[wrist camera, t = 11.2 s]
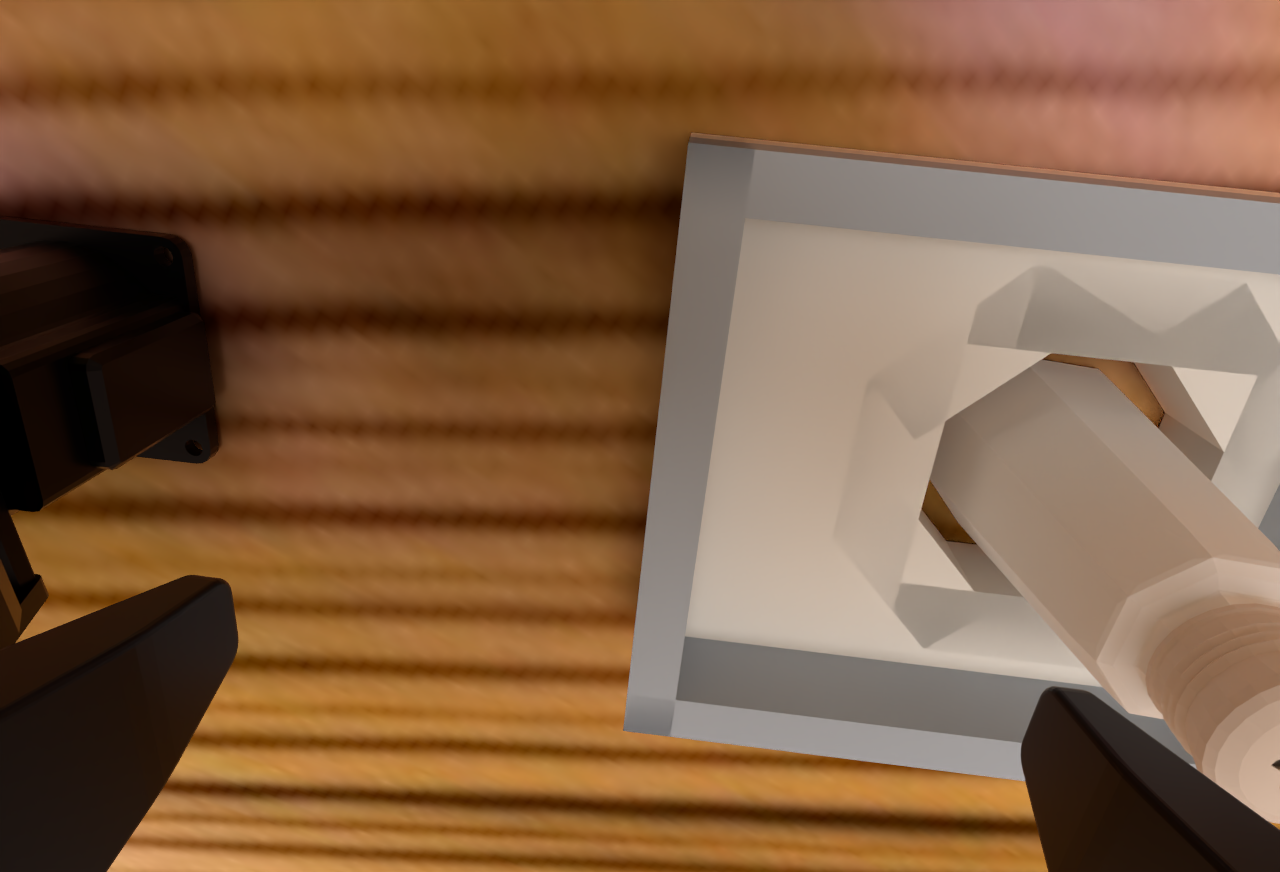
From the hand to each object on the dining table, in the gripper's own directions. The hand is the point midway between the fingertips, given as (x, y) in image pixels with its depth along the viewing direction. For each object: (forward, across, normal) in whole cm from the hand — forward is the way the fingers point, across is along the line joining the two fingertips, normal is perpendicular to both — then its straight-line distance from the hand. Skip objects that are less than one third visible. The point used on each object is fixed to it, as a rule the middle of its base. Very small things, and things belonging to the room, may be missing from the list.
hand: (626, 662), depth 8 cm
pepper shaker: (+13, -10, +2) cm, 17 cm away
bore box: (+13, -8, +2) cm, 15 cm away
